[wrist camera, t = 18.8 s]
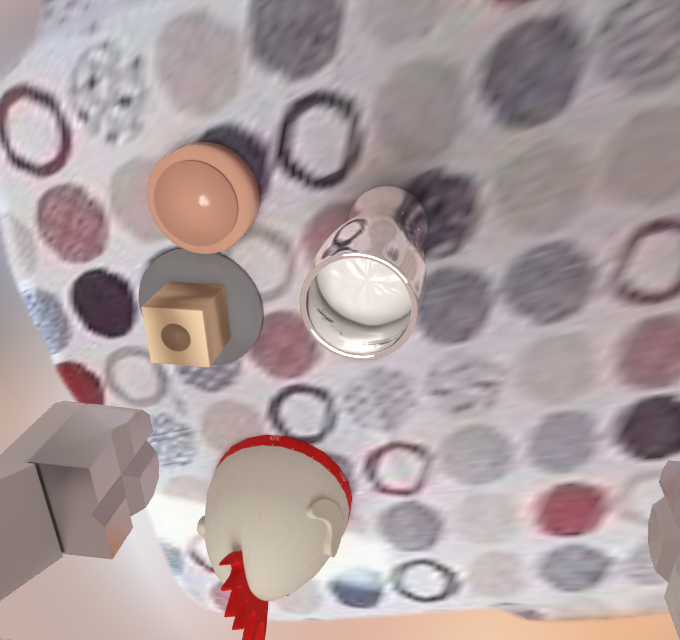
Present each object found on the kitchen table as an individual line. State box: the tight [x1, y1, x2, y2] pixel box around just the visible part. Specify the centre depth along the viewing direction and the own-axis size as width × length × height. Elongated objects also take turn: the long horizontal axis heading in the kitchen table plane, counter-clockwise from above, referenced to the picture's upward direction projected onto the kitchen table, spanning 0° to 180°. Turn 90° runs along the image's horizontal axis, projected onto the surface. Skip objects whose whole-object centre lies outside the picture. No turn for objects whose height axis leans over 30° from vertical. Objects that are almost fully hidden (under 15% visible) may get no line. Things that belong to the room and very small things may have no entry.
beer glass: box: [300, 186, 428, 360], centre depth 40 cm, size 7×7×15 cm
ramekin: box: [147, 141, 260, 254], centre depth 47 cm, size 8×8×4 cm
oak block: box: [141, 282, 231, 367], centre depth 50 cm, size 5×5×5 cm
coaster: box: [139, 248, 263, 365], centre depth 53 cm, size 11×11×1 cm
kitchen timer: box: [197, 435, 352, 640], centre depth 54 cm, size 14×14×15 cm
